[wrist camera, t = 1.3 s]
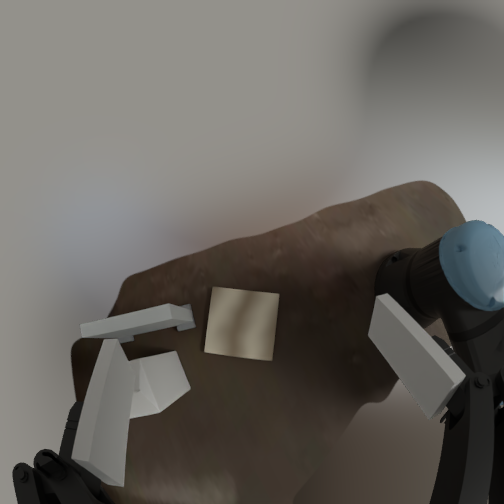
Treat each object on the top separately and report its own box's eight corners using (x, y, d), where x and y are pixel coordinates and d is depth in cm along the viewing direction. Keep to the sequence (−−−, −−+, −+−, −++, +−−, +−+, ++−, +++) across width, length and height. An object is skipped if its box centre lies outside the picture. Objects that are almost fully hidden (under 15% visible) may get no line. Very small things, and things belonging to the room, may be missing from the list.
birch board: (279, 294, 45) (279, 293, 44) (271, 360, 42) (271, 360, 41) (213, 287, 46) (212, 286, 45) (205, 351, 43) (204, 351, 42)
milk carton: (191, 388, 41) (148, 422, 23) (156, 397, 41) (99, 429, 22) (176, 350, 43) (124, 360, 25) (141, 361, 42) (78, 373, 24)
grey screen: (190, 304, 45) (167, 295, 33) (196, 327, 44) (173, 326, 32) (116, 322, 44) (78, 317, 33) (120, 343, 43) (83, 344, 32)
